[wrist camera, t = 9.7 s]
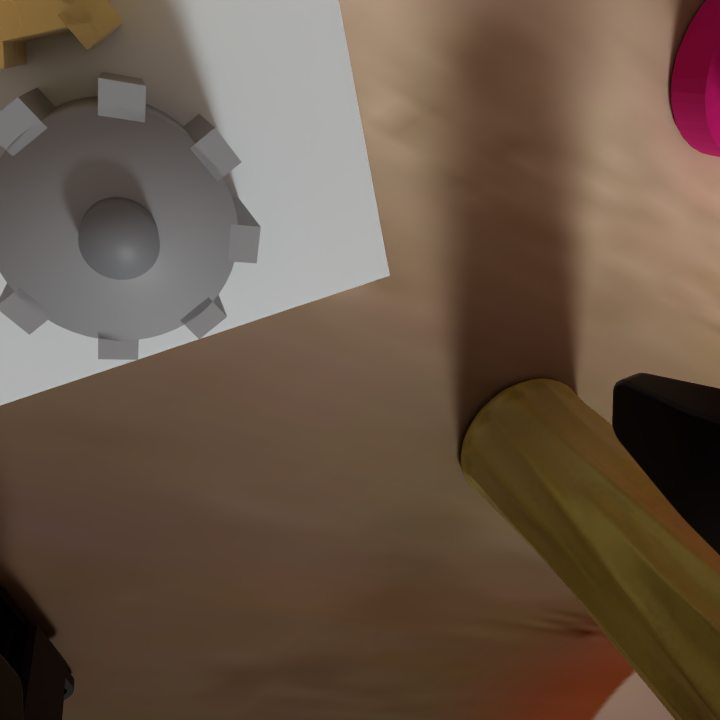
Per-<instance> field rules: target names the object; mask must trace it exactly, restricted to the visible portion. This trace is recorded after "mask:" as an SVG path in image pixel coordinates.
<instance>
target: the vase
mask: <svg viewBox="0 0 720 720" xmlns="http://www.w3.org/2000/svg"><path fill="white" fill-rule="evenodd" d="M461 467H462V470H463V473H464V475H465V477H466V479H467V481H468V483H469V484H470V485H471V487H472V488H474V489H475V490H476V491H477V492H478V493H479V494H480V495H481V496H482V497H483V498H484V499H485V500H486V501H487V502H488V503H489V504H490V505H491V506H492V507H493V508H494V509H495V510H496V511H497V512H498V513H499V514H500V515H501V516H502V517H503V518H504V519H505V520H506V521H507V522H508V523H509V524H510V525H511V527H512V528H513V529H514V530H515V531H516V532H517V533H518V534H519V535H520V536H521V537H522V538H523V539H524V540H525V541H526V542H527V543H528V544H529V545H530V546H531V547H532V548H533V549H534V550H535V551H536V552H537V553H538V554H539V555H540V556H541V558H542V559H543V560H544V561H545V562H546V563H547V564H548V565H549V566H550V567H551V568H552V569H553V570H554V571H555V573H556V574H557V575H558V576H559V577H560V578H561V579H562V580H563V582H564V583H565V584H566V585H567V586H568V588H569V589H570V590H571V591H572V593H573V594H574V595H575V596H576V598H577V599H578V600H579V601H580V603H581V604H582V605H583V606H584V607H585V609H586V610H587V611H588V613H589V614H590V615H591V617H592V618H593V619H594V620H595V622H596V623H597V624H598V626H599V627H600V628H601V629H602V631H603V632H604V633H605V635H606V636H607V637H608V638H609V639H610V641H611V642H612V643H613V644H614V646H615V647H616V648H617V649H618V650H619V652H620V653H621V654H622V655H623V657H624V658H625V659H626V660H627V661H628V663H629V664H630V665H631V666H632V668H633V669H634V670H635V671H636V672H637V673H638V675H639V676H640V677H641V678H642V679H643V681H644V682H645V683H646V684H647V686H648V687H649V688H650V689H651V690H652V692H653V693H654V694H655V695H656V697H657V698H658V699H659V700H660V701H661V703H662V704H663V705H664V706H665V707H666V709H667V710H668V711H669V713H670V714H671V715H672V716H673V718H674V719H675V720H720V555H719V554H718V553H717V552H716V551H715V550H714V549H713V548H712V547H711V546H710V545H709V544H708V543H707V542H706V541H705V540H704V539H703V538H702V537H701V536H700V535H699V534H698V533H697V532H696V531H695V530H694V529H693V528H692V527H691V526H690V525H689V524H688V523H687V522H686V521H685V520H684V519H683V518H682V517H681V515H680V514H679V513H678V512H677V511H676V510H675V509H674V507H673V506H672V505H671V504H670V503H669V501H668V500H667V499H666V498H665V497H664V495H663V494H662V493H661V492H660V490H659V489H658V488H657V487H656V486H655V484H654V483H653V482H652V481H651V480H650V478H649V477H648V476H647V475H646V473H645V472H644V471H643V470H642V469H641V467H640V466H639V465H638V464H637V462H636V461H635V460H634V459H633V458H632V456H631V455H630V454H629V453H628V451H627V450H626V449H625V448H624V447H623V445H622V444H621V443H620V442H619V440H618V439H617V437H616V435H615V433H614V430H613V426H612V425H611V424H610V423H609V422H607V421H606V420H605V419H604V418H603V417H601V416H600V415H599V414H598V413H596V412H595V411H594V410H592V409H591V408H590V407H589V406H587V405H586V404H585V403H584V402H583V401H582V400H581V399H580V398H579V397H578V396H577V395H576V393H575V392H574V391H573V390H572V389H571V388H570V387H569V386H567V385H566V384H564V383H562V382H560V381H556V380H552V379H544V378H539V379H532V380H528V381H524V382H521V383H518V384H516V385H513V386H511V387H509V388H507V389H505V390H503V391H502V392H500V393H499V394H497V395H496V396H495V397H494V398H492V399H491V400H490V401H489V402H488V403H487V404H486V405H485V406H484V407H482V409H481V410H480V411H479V412H478V414H477V415H476V416H475V418H474V419H473V421H472V423H471V424H470V426H469V428H468V430H467V432H466V435H465V437H464V441H463V445H462V451H461Z"/></svg>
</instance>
